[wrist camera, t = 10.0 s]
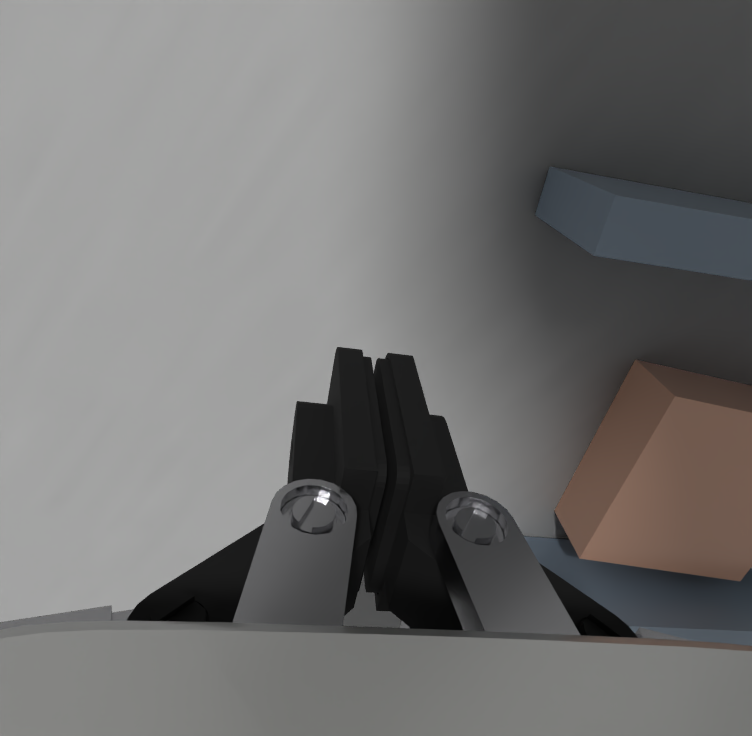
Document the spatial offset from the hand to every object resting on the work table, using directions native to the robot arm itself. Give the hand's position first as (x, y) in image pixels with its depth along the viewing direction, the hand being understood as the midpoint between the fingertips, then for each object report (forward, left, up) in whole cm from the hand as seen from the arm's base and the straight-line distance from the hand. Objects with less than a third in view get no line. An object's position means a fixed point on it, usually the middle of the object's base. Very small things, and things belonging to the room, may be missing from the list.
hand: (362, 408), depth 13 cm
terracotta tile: (+3, +11, -4) cm, 12 cm away
